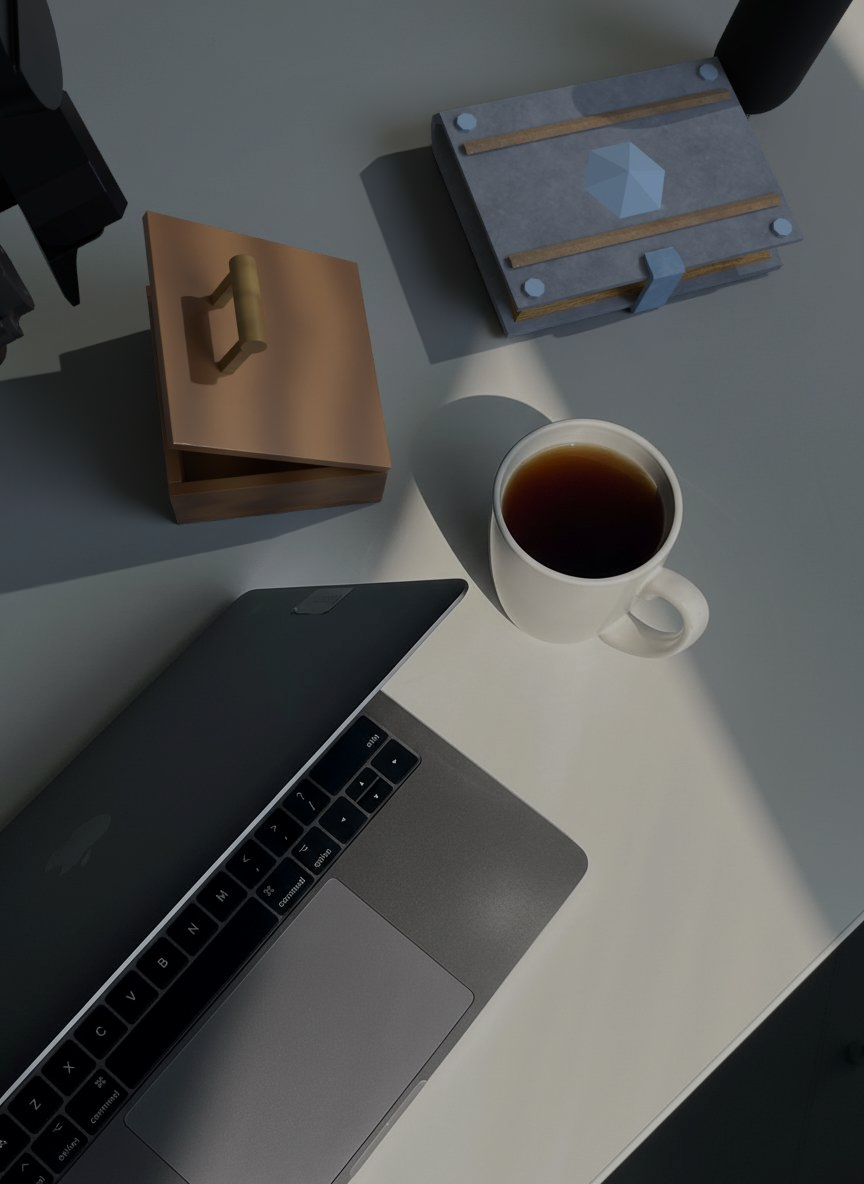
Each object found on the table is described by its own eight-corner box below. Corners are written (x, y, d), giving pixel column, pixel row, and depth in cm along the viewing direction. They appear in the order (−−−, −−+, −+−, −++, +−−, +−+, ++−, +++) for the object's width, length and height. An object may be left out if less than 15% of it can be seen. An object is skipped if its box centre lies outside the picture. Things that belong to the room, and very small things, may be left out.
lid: (167, 449, 52) (204, 409, 49) (141, 217, 56) (175, 165, 52) (385, 472, 60) (431, 440, 57) (351, 268, 64) (392, 226, 60)
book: (690, 89, 77) (716, 36, 72) (779, 277, 73) (812, 235, 69) (427, 144, 73) (436, 91, 68) (507, 346, 69) (523, 307, 64)
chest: (178, 525, 63) (169, 496, 58) (155, 326, 66) (145, 285, 62) (381, 501, 65) (388, 472, 60) (350, 310, 68) (354, 269, 64)
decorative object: (793, 91, 78) (905, -86, 64) (758, 151, 76) (865, -19, 62) (719, 48, 78) (813, -138, 64) (682, 106, 77) (771, -73, 62)
